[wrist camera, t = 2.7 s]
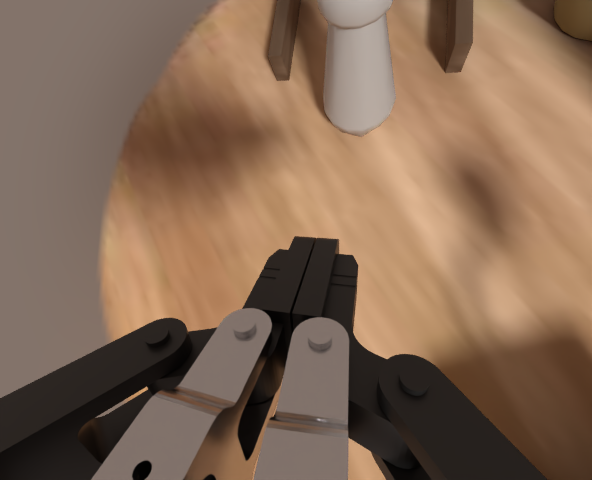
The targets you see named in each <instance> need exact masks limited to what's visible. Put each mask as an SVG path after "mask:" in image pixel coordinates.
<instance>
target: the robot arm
mask: <svg viewBox="0 0 592 480" xmlns="http://www.w3.org/2000/svg"><path fill="white" fill-rule="evenodd" d="M357 277H358V264H357V262H356V260H355V258H354V257H353V255H344V254H339V239H327V238H317V239H316V238H312V237H298V236H295V237H294V239H293V241H292V243H291V246H290V248H289V250H282V249H279V250H278V251H276V252H275V253H274V254H273V255H271V256H270V257H269V258H268V260H267V262H266V264H265V266H264V270H262V272H261V274H260V276H259V278H258V280H257V281H256V283H255V285H254V287H253V289H252V291H251V293H250V295H249V297H248V299H247V301H246V303H245V305H244V307H243V308H242V309H240V310H237V311H235V312H233V313H231V314H229V315H228V316H227V317H225V318H224V319H223V321H222V322H221V323H220V325H219V326H218V327H217V328H212V329H205V330H198V331H190V332H188V331H187V328H186V326H185V324H184V323H183V322H182V321H181V320H178V319H175V318H164V319H159V320H156V321H153V322H151V323H149V324H147V325H145V326H143V327H141V328H139V329H137V330H135V331H133V332H131V333H129V334H127V335H125V336H123V337H121V338H119V339H117V340H115V341H113V342H111V343H109V344H107V345H105V346H103V347H101V348H100V349H97V350H95V351H94V352H92V353H90V354H88V355H86V356H84V357H82V358H80V359H78V360H76V361H74V362H72V363H70V364H68V365H66V366H64V367H62V368H60V369H58V370H56V371H54V372H52V373H50V374H48V375H46V376H44V377H42V378H40V379H38V380H36V381H34V382H32V383H30V384H28V385H26V386H24V387H22V388H20V389H18V390H16V391H14V392H12V393H10V394H8V395H6V396H4V397H2V398H0V480H252V478H253V471H254V467H255V463H256V460H257V457H258V455H259V458H258V462H257V467H256V471H255V476H254V480H348V437H349V438H350V439H352V440H353V441H355V442H357V443H358V444H360V445H362V446H363V447H365V448H366V449H368V450H370V451H371V453H372V456H373V458H374V460H375V461H376V463H377V465H378V466H379V468H380V470H381V471H382V473H383V475H384V476H385V478H386V480H547V479H546V478H545V477H544V476H543V475H542V474H541V473H540V472H539V471H538V470H537V469H536V468H535V467H534V466H533V465H532V463H531V462H530V461H529V460H528V459H527V458H526V457H525V456H524V455H523V454H522V453H521V452H520V451H519V450H518V449H517V448H516V447H515V446H514V445H513V444H512V443H511V442H510V441H509V440H508V439H507V438H506V437H505V436H504V435H503V434H502V433H501V432H500V431H499V430H498V429H497V428H496V427H495V426H494V425H493V424H492V423H491V422H490V421H489V420H488V419H487V418H486V417H485V416H484V415H483V414H482V413H481V412H480V411H479V410H478V409H477V408H476V407H475V405H474V404H473V403H472V402H471V401H470V400H469V399H468V398H467V397H466V396H465V395H464V394H463V393H462V392H461V391H460V390H459V389H458V388H457V387H456V386H455V385H454V384H453V383H452V382H451V381H450V380H449V379H448V378H447V377H446V376H445V375H444V374H443V373H442V372H441V371H440V370H439V369H438V368H437V367H436V366H435V365H434V364H432V363H431V362H429V361H427V360H426V359H424V358H421V357H419V356H415V355H410V354H400V355H395V356H392V357H390V358H389V359H385V358H383V357H380V356H378V355H376V354H374V353H372V352H370V351H368V350H367V349H365V348H364V347H363V346H362V345H361V344H360V343H359V342H358V341H357V340H356V338H355V336H354V334H353V326H354V316H355V306H356V294H357ZM283 375H284V376H283ZM282 379H283V380H282ZM281 382H282V385H281ZM146 386H147V387H148V390H147V391H145V392H143V393H142V394H140V395H138V396H137V397H135V398H133V399H132V400H130V401H128V402H127V403H125V404H124V405H122V406H120V407H119V408H117V409H115V410H114V411H112V412H110V413H109V414H107V415H105V416H102V417H98V418H95V417H97V416H98V415H100V414H101V413H103V412H105V411H107V410H108V409H110V408H112V407H113V406H115V405H116V404H118V403H120V402H121V401H123V400H125V399H126V398H128V397H130V396H131V395H133V394H135V393H136V392H138V391H140V390H141V389H143V388H145V387H146ZM277 403H278V404H277ZM276 406H277V409H276V412H275V415H274V416H273V414H274V411H275V408H276ZM259 452H260V454H259Z"/></svg>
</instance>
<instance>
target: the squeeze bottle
mask: <svg viewBox="0 0 592 480" xmlns="http://www.w3.org/2000/svg"><path fill="white" fill-rule="evenodd" d="M554 19H555V21H556V23H557V24H558V25H559V27H560V28H561V30H562V31H564V32H566V33H568V34H569V35H571V36H573V37H574V38H579V39H584V40H589V41H592V0H555V5H554Z"/></svg>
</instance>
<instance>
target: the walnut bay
mask: <svg viewBox="0 0 592 480" xmlns="http://www.w3.org/2000/svg"><path fill="white" fill-rule="evenodd" d="M300 1H301V0H277V5H276V11H275V17H274V23H273V29H272V36H271V42H270V48H269V54H268V58H269V60H270V63H271V66H272V68H273V71H274V73H275V76H276V79H277V81H281V80H289V77H290V70H291V63H292V56H293V49H294V43H295V36H296V29H297V22H298V15H299V8H300ZM472 43H473V0H448V9H447V39H446V70H445V73H450V72H461V70H462V67H463V65H464V63H465V60H466V58H467V55H468V53H469V50H470V48H471V45H472Z"/></svg>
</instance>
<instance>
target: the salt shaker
mask: <svg viewBox="0 0 592 480" xmlns="http://www.w3.org/2000/svg"><path fill="white" fill-rule="evenodd" d="M392 1H393V0H317V2H318V7H319V10H320V12H321V14H322V15H323V16H324V18H325V19H326V20H327V21H328V32H327V46H326V61H325V76H324V91H323V101H324V111H325V113H326V115H327V117H328V118H329V119H330V121H331V122H332V124H333V125H334V126H335V127H336V128H338V129H339V130H340V131H341V132H343V133H347V134H352V135H356V136H360V137H362V136H364V135H366V134H367V133H369V132H370V131H372V130H374V129H375V128H377V127H378V126H380V125H381V124H382V123H383V122H384V121H385V120H386V119H387V118H388V116H389V115H390V112H391V110H392V107H393V104H394V102H395V99H396V94H395V87H394V79H393V70H392V62H391V53H390V45H389V36H388V28H387V19H386V12H387V11H388V10H389V9H390V6H391V4H392Z"/></svg>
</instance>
